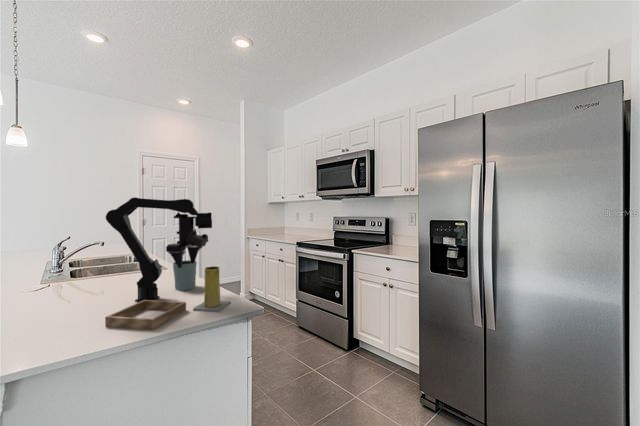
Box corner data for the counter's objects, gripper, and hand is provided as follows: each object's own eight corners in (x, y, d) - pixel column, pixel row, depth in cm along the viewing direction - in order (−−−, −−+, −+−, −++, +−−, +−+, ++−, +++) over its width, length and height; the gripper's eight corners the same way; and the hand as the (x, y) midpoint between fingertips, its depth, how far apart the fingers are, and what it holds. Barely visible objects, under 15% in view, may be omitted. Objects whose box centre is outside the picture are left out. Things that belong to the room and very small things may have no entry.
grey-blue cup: (181, 292, 131) (181, 265, 131) (168, 288, 136) (168, 262, 136) (201, 286, 140) (201, 261, 139) (188, 283, 145) (188, 259, 145)
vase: (215, 308, 110) (214, 270, 109) (200, 306, 111) (200, 269, 111) (223, 302, 116) (223, 266, 115) (209, 301, 117) (209, 265, 117)
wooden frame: (105, 326, 95) (105, 317, 95) (144, 307, 112) (144, 299, 112) (153, 329, 92) (153, 320, 92) (185, 310, 109) (185, 302, 109)
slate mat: (193, 310, 109) (193, 308, 109) (207, 301, 119) (207, 299, 119) (218, 311, 108) (218, 310, 108) (230, 302, 118) (230, 301, 118)
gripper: (191, 231, 114) (191, 271, 115) (215, 227, 133) (215, 261, 133) (164, 230, 116) (165, 270, 117) (192, 226, 135) (192, 261, 135)
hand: (186, 265), depth 125 cm, fingers open, 9 cm apart
